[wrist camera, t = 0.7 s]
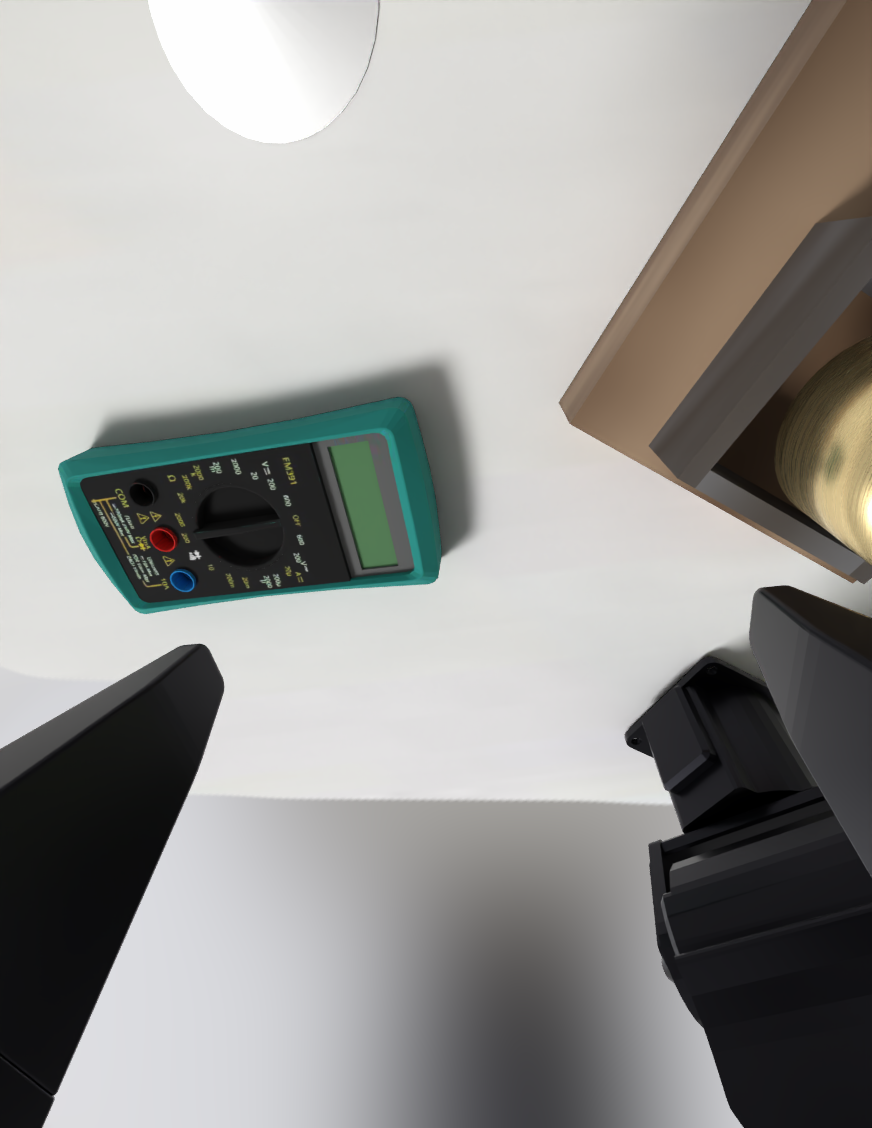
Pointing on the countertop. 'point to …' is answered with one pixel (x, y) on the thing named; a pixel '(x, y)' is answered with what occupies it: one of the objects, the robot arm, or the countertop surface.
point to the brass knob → (832, 448)
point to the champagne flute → (269, 60)
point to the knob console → (751, 290)
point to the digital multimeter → (262, 509)
